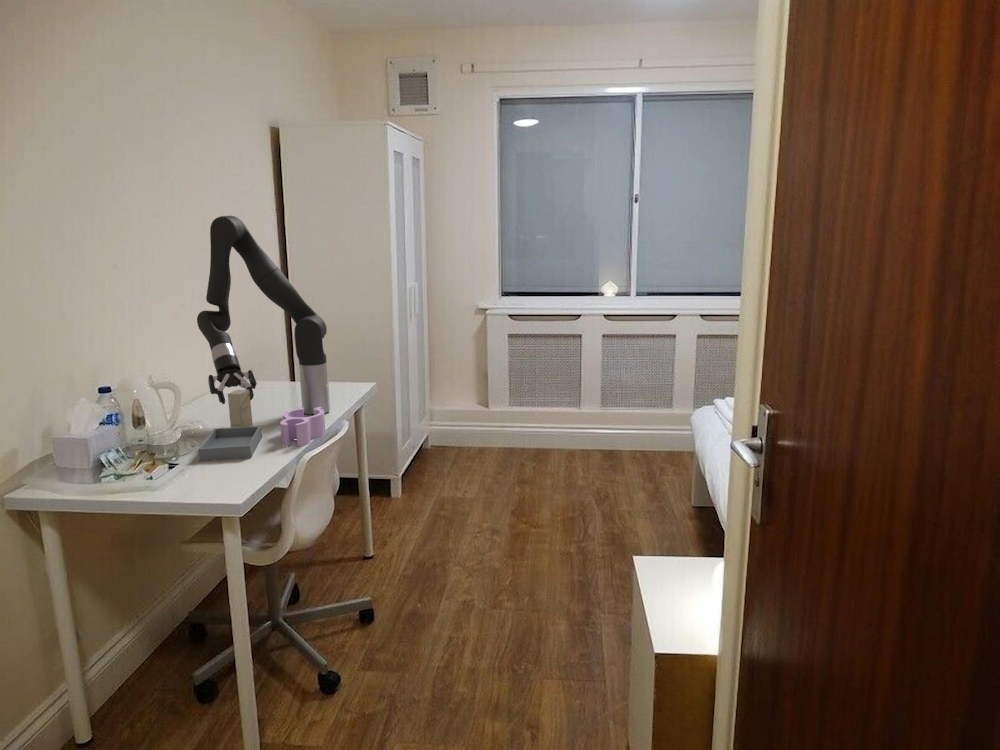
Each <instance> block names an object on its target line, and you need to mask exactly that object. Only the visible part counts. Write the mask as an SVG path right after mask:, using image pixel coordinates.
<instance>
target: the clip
mask: <svg viewBox="0 0 1000 750" xmlns="http://www.w3.org/2000/svg"><path fill="white" fill-rule="evenodd" d="M313 412H314V415H310V416H306V417H305V414H304V408H303V407H302V406H298V407H297V408H295V409H290V410H286V411H284V413H283V414H282V420H281V421H280V422H279V424H280V425H279V426H280V435H281V439H280V440H281V446H283V445H284V446H283V447H285V446H288V445H289V446H290V442H291V441H290V440H294V439H297V440H296V447H297V446H301V447H304V445H305V446H307V445H309V444H311V441H312V440H314V439H318V438H321V437H323V436H324V435H326V417H325V413H324V410H323V408H322V407H318V408H314V409H313ZM311 439H312V440H311ZM310 440H311V441H310ZM289 441H290V442H289ZM294 441H295V440H294ZM289 446H288V447H289Z"/></svg>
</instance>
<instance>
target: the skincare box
mask: <svg viewBox="0 0 1000 750" xmlns="http://www.w3.org/2000/svg"><path fill="white" fill-rule="evenodd" d="M227 400H228V401H227V402H228V411H229V423H230V428H234V427H253V426H254V425H253V415H252V404H251V400H250V392H249V390H246V389H236V390H234V391H231V392H229V393H227Z"/></svg>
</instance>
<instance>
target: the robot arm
mask: <svg viewBox="0 0 1000 750" xmlns="http://www.w3.org/2000/svg"><path fill="white" fill-rule="evenodd" d="M209 230H210V231H209V234H210V235H209V236H210V237H209V238H210V263H209V264H210V265H209V274H208V276H209V277H208V284H207V290H206V296H205V299H206V300H205V301H206V302H207V303H208V304H209V305H213V306H216V307H218V310H201V311H199V313H198V314H197V318H196V323H197V327H198V329H199V330H200V333H202V335H203V336H204V338H205V339H206V341H207V342H208V344H209V347H210V351H211V352H210V353H211V358H212V363H213V365H214V368H215V372H216V375H215V376H214V375H212V374H209V375H208V378H207V381H208V387H209V392H210V394H211V395H217V398H218V401H219V403H220V404H222V405H225V404H226V399H225V394H224V390H225V388H226V387H227V388H232V387H233V388H234V387H236V388H237V387H240V388H242V389H243V390H249V392H250V401H252V400H253V398H254V395H255V394H254V391H253V389H256V388H257V387H256V386H257V384H258V383H257V381H256V378H255V375H254V373H253V370H251V369H249V370H248V371H246V372H243V370H242V368H241V365H240V363H239V359H238V355H237V352H236V350H235V348H234V345H233V342H232V339H231V336H230V334H229V333H228V332H227V331H228V330H229V328H230V327H231V321H232V320H231V315H230V308H229V307H230V306H229V304H230V303H229V299H230V293H231V291H230V290H231V285H232V284H231V283H232V276H231V268H230V258H231V257H230V256H231V251H232V249H234V250H235V251H236V252H237V254H238V255H239V256H240V257H241V259H242V260H243V262H244V264H245V265H246V268H247V270H248V272H249V276H250V277H251V279H252V281H253V282H254V283H255V285H256V286H257V287H258V289H260V291H261V292H262V293H263V294H264V295H265V296H266V297H267V298H268V300H270V301H271V302H273V303H274V305H277V306H278V307H279V308H281V309H282V310H284V312H286V314H288V316H290V318H291V319H292V321H294V323H295V327H294V345H295V352H296V357H297V359H298V370H299V382H300V383H299V384H300V395H301V407H303V408H304V413H305V414H304V415H311V414H314V412H313V409H314V408H318V407H322V408H323V410H324V414H327V412H329V413H330V411H331V410H330V409H331V401H330V386H329V385H330V384H329V380H328V378H329V377H328V365H327V355H326V353H325V352H324V351H325V350H324V344H323V339H324V338H325V337H326V334H327V332H328V330H327V329H328V328H327V325H326V322H325V321H324V319H323V318H322V317H321V315H319V314H318V313H317V312H316V311H315V310H314V309H313V308H311V306H310V305H309V304H308V303H307V302H306V301H305V300H304V299H303V298H302V296H301V295H300V293H299V292H298V291H297V289H296V288H295V287H294V286H293V284H292V283H291V282H290V281H289V279H288V278H287V277H286V276H285V274H284V273H283V272H282V270H281V269H280V267H278V266H277V265H276V264H275V263H274V261H273V260H272V259H271V257H270V256H269V255H268V254H267V253H266V252H265V251H264V249H262V247H261V246H260V245H259V244H258V243H257V240H256V239H255V238H254V236H253V235H252V233H251V232H250V230H249V229H248V228H247V226H246V224H245V223H244V222H243V221H242V220H241V219H240V218H239V217H237V216H234V215H221V216H217V217H215V218H214V219H213V220H212V222H211V224H210V229H209ZM244 377H245V378H246V379H245V378H244ZM247 380H248V381H249V382H248V381H247ZM216 381H217V382H219V383H220V384H219V386H218V388H216V385H215V383H216Z"/></svg>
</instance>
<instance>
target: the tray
mask: <svg viewBox="0 0 1000 750" xmlns="http://www.w3.org/2000/svg"><path fill="white" fill-rule="evenodd" d="M262 438H263V429H262V425H259V426H254V425H253V426H252V427H234V428H231V427H219V428H213V429H212V430H211V432H210V433H209V434H208V436H207V437H206V438H205V439H204V441H203V442H202V444H200V446H199V447H198V448H197V451H198V461H199V462H205V461H222V460H224V461H225V460H240V459H252V457H253V455H254V454H255V452H256V450H257V448H258V446H259V444H260V443H261V440H262Z"/></svg>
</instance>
